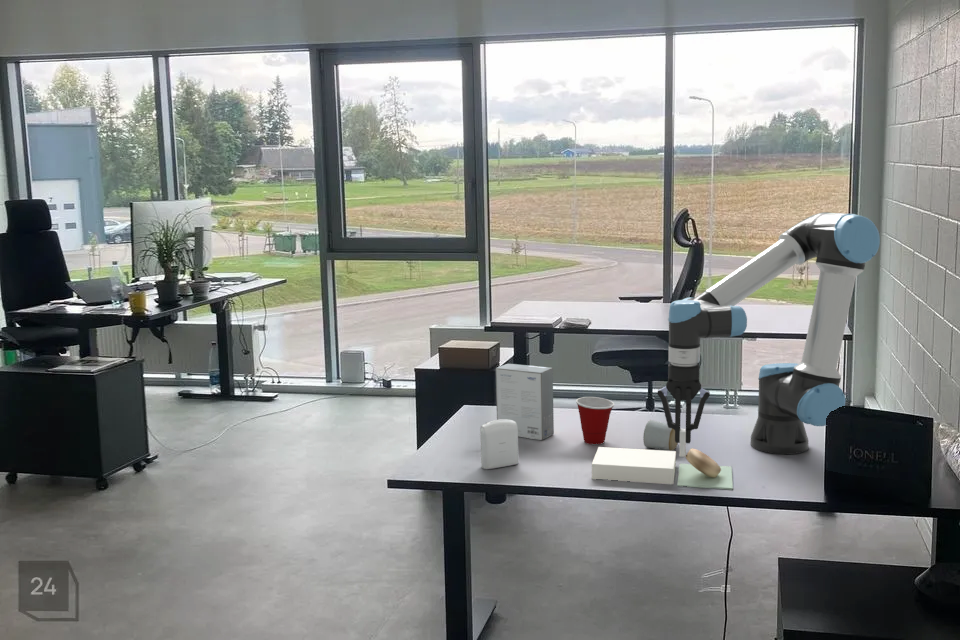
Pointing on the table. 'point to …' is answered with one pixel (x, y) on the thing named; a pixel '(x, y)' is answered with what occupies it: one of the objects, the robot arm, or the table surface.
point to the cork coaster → (703, 463)
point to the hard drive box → (526, 399)
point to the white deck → (634, 465)
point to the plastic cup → (594, 418)
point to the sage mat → (704, 478)
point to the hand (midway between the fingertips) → (682, 455)
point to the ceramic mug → (659, 436)
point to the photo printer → (499, 444)
